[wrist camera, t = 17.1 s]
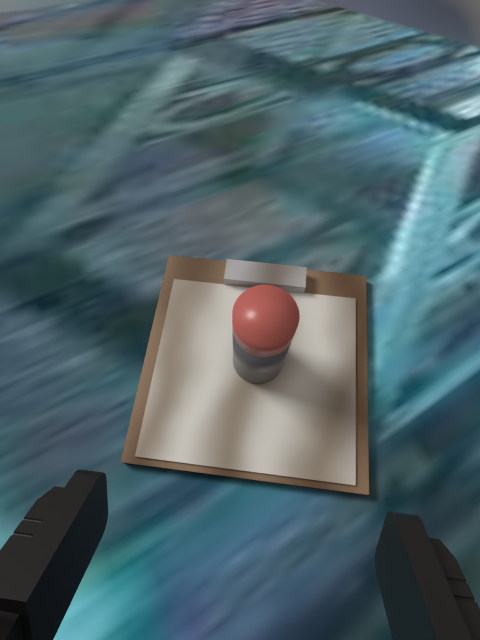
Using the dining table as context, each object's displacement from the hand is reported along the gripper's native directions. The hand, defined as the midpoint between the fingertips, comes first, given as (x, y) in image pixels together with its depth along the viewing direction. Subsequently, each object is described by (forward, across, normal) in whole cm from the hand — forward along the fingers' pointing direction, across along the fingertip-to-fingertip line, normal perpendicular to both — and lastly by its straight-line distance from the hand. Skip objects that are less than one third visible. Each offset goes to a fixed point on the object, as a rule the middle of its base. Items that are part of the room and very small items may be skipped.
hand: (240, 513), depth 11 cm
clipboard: (+20, 0, +6) cm, 21 cm away
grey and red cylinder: (+20, 0, +5) cm, 20 cm away
